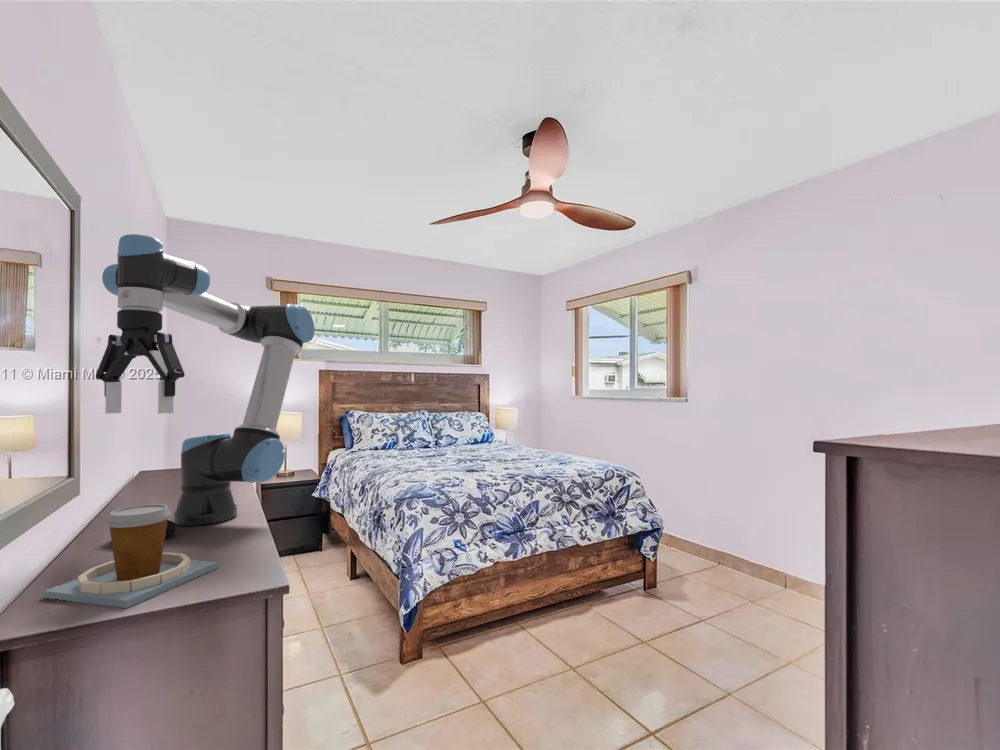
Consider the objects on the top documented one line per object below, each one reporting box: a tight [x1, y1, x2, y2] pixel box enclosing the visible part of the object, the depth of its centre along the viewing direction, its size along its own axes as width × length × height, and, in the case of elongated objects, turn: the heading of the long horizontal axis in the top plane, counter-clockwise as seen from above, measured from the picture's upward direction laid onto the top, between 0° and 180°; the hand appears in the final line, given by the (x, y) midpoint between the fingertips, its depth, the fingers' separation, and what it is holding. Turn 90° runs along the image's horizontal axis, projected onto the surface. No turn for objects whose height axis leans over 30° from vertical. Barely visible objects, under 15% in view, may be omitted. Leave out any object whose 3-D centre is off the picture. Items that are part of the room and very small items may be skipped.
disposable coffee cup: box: [105, 503, 172, 581], centre depth 89 cm, size 10×10×12 cm
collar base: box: [42, 551, 218, 609], centre depth 89 cm, size 18×18×3 cm
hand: (139, 413), depth 100 cm, fingers open, 13 cm apart
